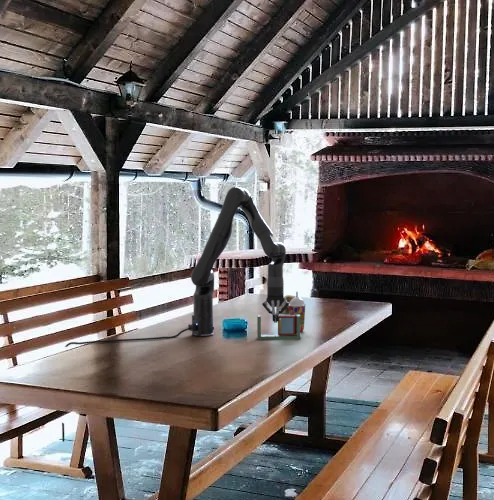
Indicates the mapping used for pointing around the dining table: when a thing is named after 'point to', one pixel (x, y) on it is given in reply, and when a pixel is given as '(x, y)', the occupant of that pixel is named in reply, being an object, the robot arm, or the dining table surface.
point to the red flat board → (286, 325)
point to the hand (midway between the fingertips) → (275, 322)
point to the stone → (288, 299)
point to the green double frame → (278, 337)
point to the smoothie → (298, 310)
